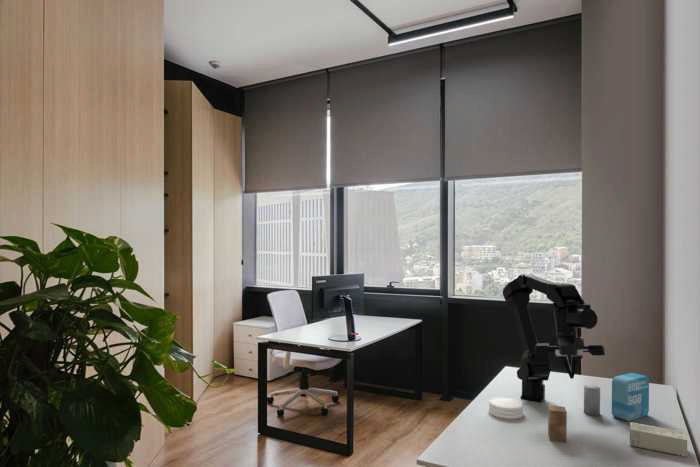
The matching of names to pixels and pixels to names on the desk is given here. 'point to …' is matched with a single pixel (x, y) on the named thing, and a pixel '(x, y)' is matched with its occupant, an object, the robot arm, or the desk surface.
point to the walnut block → (557, 423)
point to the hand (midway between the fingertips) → (572, 378)
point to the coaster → (506, 408)
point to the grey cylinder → (592, 400)
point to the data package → (630, 396)
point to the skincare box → (658, 439)
